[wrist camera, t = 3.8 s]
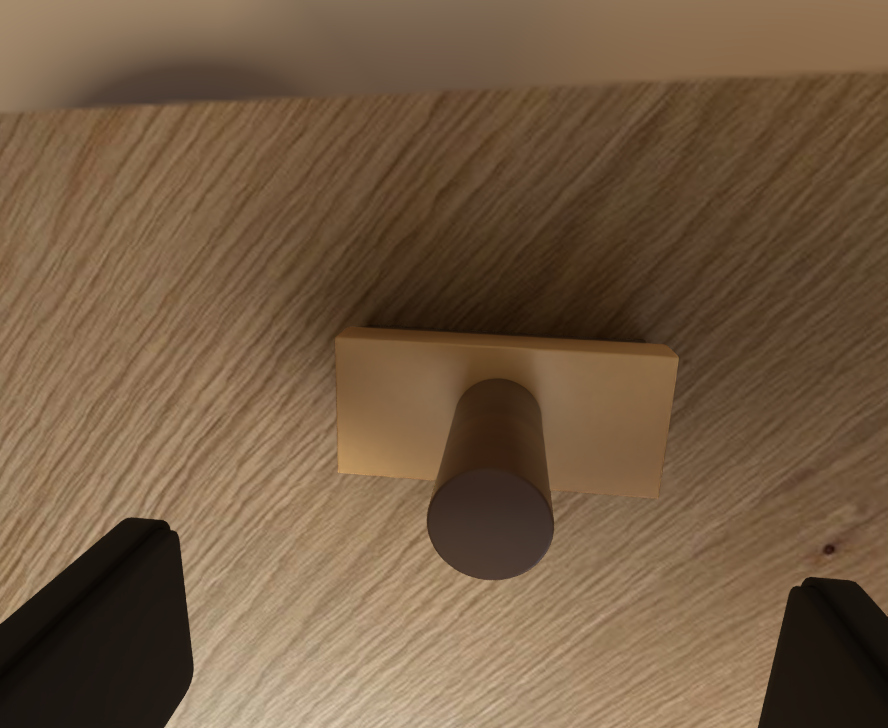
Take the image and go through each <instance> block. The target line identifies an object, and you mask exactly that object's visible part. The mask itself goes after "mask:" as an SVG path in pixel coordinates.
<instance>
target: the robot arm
mask: <svg viewBox="0 0 888 728" xmlns="http://www.w3.org/2000/svg"><path fill="white" fill-rule="evenodd" d="M193 670H194V667H193V656H192V647H191V638H190V630H189V621H188V612H187V603H186V594H185V585H184V576H183V568H182V559H181V550H180V541H179V536H178V534H177V532H175V531H173V530H170V526H169V525H168V523H167V522H166V521H164V520H155V519H144V518H132V517H131V518H126V519H124V520H123V521H121V522H120V523H119V524H118V525H116V526H115V527H114V528H113V529H112V530H111V531H109V532H108V533H107V534H106V535H105V536H104V537H102V538H101V539H100V540H99V541H98V542H96V543H95V544H94V545H93V546H92V547H91V548H89V549H88V550H87V551H86V552H85V553H84V554H82V555H81V556H80V557H79V558H78V559H77V560H75V561H74V562H73V563H72V564H71V565H69V566H68V567H67V568H66V569H65V570H64V571H62V572H61V573H60V574H59V575H58V576H57V577H55V578H54V579H53V580H52V581H51V582H49V583H48V584H47V585H46V586H45V587H44V588H42V589H41V590H40V591H39V592H38V593H37V594H35V595H34V596H33V597H32V598H31V599H29V600H28V601H27V602H26V603H25V604H24V605H22V606H21V607H20V608H19V609H18V610H17V611H15V612H14V613H13V614H12V615H11V616H10V617H8V618H7V619H6V620H5V621H4V622H2V623H1V624H0V728H164V727H165V726H166V724H167V722H168V721H169V719H170V718H171V716H172V715H173V713H174V712H175V710H176V708H177V707H178V705H179V704H180V702H181V701H182V699H183V698H184V696H185V694H186V693H187V691H188V689H189V686H190V684H191V681H192V677H193ZM758 728H888V617H887V616H886V615H885V613H884V612H883V611H882V610H881V609H880V608H879V607H878V606H877V605H876V603H875V602H874V601H873V600H872V599H871V598H870V597H869V596H868V594H867V593H866V592H865V591H864V590H863V589H862V588H861V587H860V586H859V585H858V584H857V583H856V582H853V581H850V580H840V579H829V578H817V577H809V578H806V579H805V580H804V581H803V583H802V585H801V586H795V587H793V588H792V589H791V591H790V593H789V597H788V601H787V605H786V609H785V614H784V618H783V622H782V627H781V631H780V635H779V639H778V644H777V648H776V652H775V657H774V661H773V665H772V669H771V674H770V678H769V682H768V687H767V691H766V695H765V699H764V704H763V708H762V712H761V717H760V721H759V725H758Z"/></svg>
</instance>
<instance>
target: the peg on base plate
mask: <svg viewBox="0 0 888 728" xmlns="http://www.w3.org/2000/svg"><path fill="white" fill-rule="evenodd" d="M678 362H679V357H678V356H677V355H676V354H675V353H674V352H673V351H672V350H671V349H670V348H669V347H668V346H667V345H665V344H649V343H647V342H646V341H645V340H633V339H615V338H597V337H579V336H561V335H543V334H525V333H507V332H489V331H471V330H453V329H435V328H417V327H399V326H381V325H368V326H367V327H366V328H363V327H348V328H346V329H345V330H344V331H343V332H341V333H340V334H339V335H338V336H336V337H335V363H336V407H337V452H338V472H339V473H349V474H361V475H373V476H385V477H398V478H410V479H422V480H434V481H436V482H435V486H434V489H433V493H432V497H431V500H430V504H429V508H428V512H427V529H428V534H429V537H430V540H431V542H432V544H433V546H434V548H435V549H436V551H437V552H438V554H439V555H440V556H441V557H442V559H443V560H444V561H445V562H447V563H448V564H449V565H450V566H451V567H453V568H454V569H456V570H457V571H459V572H461V573H463V574H465V575H468V576H471V577H474V578H478V579H484V580H503V579H509V578H512V577H516V576H518V575H521V574H523V573H525V572H527V571H528V570H530V569H531V568H533V567H534V566H535V565H536V564H537V563H538V562H539V561H540V560H541V559H542V558H543V557H544V555H545V554H546V552H547V551H548V549H549V547H550V545H551V542H552V539H553V533H554V518H553V510H552V502H551V493H550V490H556V491H568V492H580V493H592V494H604V495H617V496H629V497H641V498H653V499H658V497H659V490H660V484H661V477H662V470H663V463H664V457H665V450H666V443H667V436H668V430H669V423H670V416H671V410H672V403H673V396H674V389H675V383H676V376H677V369H678Z"/></svg>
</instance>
